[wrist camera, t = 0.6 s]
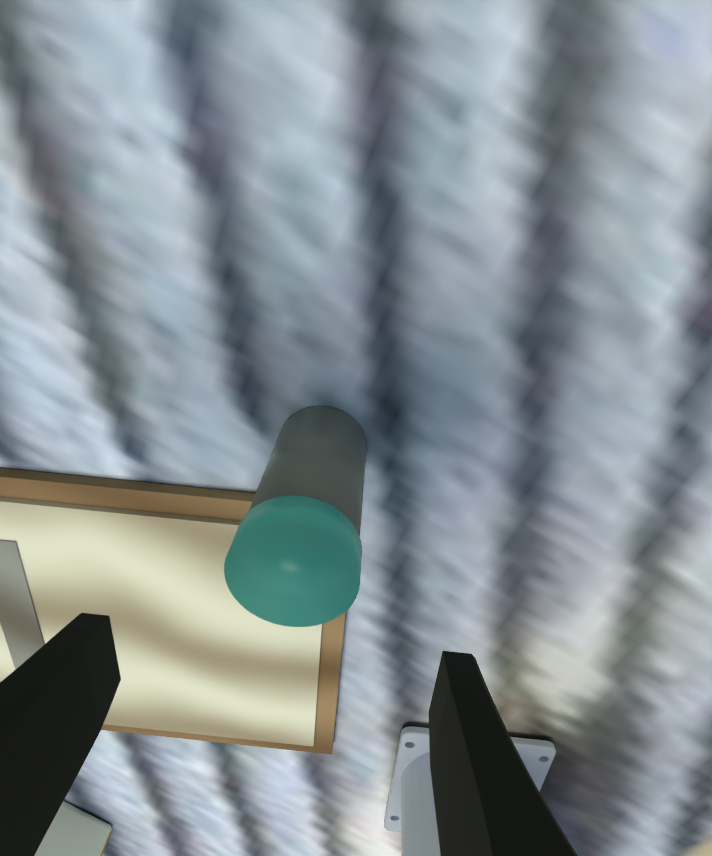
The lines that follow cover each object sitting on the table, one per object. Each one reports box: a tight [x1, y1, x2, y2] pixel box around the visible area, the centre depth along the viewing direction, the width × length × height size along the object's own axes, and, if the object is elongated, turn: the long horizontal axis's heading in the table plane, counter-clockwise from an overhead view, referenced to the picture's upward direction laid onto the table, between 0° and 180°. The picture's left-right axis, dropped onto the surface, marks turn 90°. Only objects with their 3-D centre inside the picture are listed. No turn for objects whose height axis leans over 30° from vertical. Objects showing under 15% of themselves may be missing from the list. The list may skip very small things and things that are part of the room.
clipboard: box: [0, 468, 346, 754], centre depth 25 cm, size 16×20×1 cm
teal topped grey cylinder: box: [224, 406, 367, 627], centre depth 17 cm, size 4×4×7 cm
